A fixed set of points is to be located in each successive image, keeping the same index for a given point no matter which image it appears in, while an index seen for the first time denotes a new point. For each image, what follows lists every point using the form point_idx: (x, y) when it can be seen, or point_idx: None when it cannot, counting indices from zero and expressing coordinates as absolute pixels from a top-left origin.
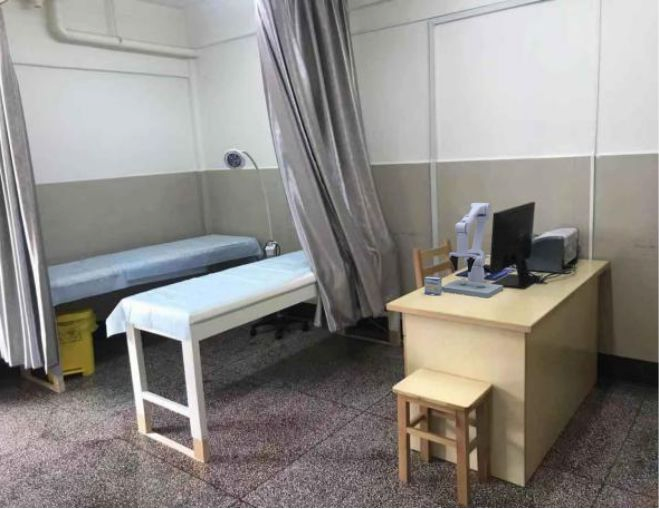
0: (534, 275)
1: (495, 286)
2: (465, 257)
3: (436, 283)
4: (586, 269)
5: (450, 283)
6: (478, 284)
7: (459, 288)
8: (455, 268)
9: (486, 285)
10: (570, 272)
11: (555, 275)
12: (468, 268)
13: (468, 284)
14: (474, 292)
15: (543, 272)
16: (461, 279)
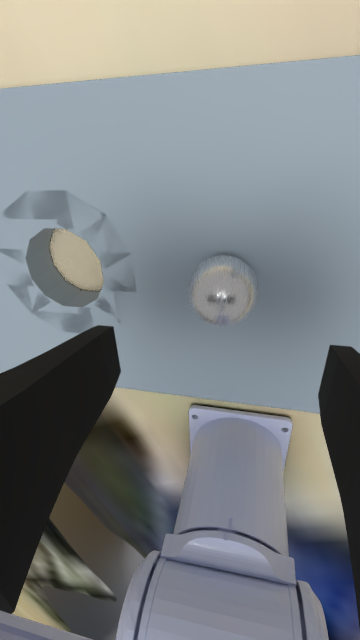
0: (83, 562)
1: (9, 332)
2: (32, 637)
3: None
4: (21, 605)
5: None
6: (128, 340)
7: (195, 119)
8: (341, 366)
9: (67, 334)
10: (28, 586)
11: (34, 563)
12: (68, 349)
13: (193, 312)
14: (12, 88)
15: (84, 587)
16: (231, 284)
